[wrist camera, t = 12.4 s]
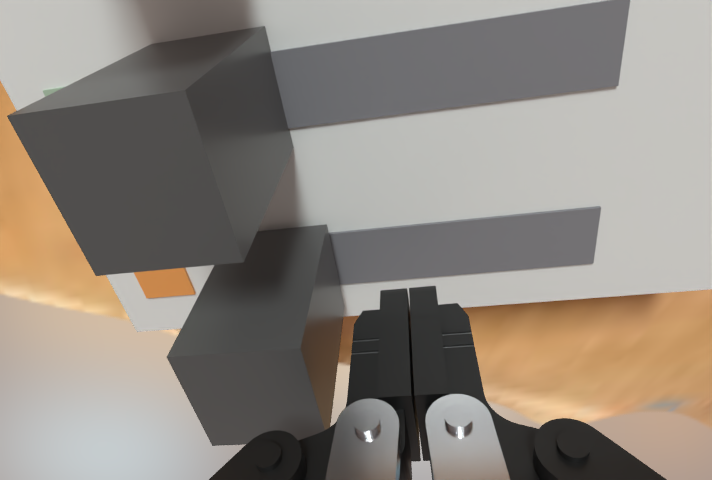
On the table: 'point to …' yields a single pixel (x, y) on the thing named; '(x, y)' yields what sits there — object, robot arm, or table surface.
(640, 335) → the table surface
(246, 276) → the block
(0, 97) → the table surface
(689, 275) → the breaker panel
